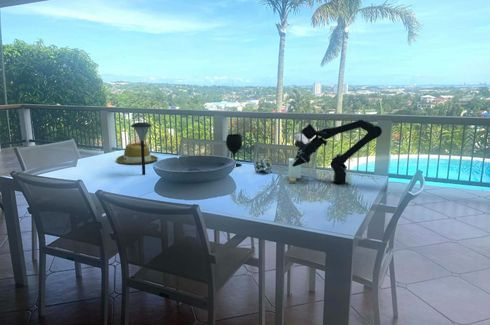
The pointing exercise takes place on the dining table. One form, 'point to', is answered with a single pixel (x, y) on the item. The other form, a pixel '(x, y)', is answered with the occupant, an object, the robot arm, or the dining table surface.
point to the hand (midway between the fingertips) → (292, 164)
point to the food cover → (294, 169)
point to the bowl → (292, 180)
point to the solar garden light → (142, 139)
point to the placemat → (299, 183)
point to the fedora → (136, 154)
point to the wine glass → (234, 144)
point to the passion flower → (264, 165)
